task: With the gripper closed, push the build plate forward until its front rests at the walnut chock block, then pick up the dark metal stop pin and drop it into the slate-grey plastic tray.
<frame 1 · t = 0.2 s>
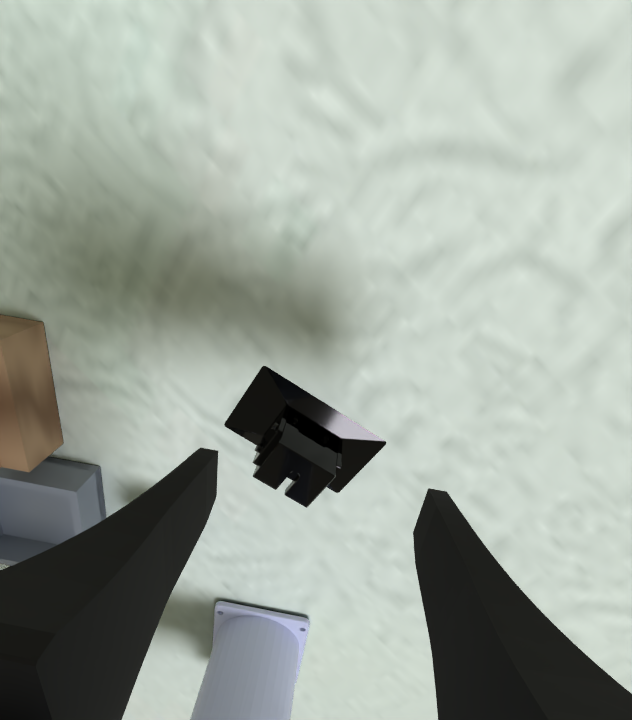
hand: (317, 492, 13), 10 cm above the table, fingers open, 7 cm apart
chock: (31, 383, 24), on the table
build plate: (304, 427, 25), on the table
tray: (48, 501, 29), on the table
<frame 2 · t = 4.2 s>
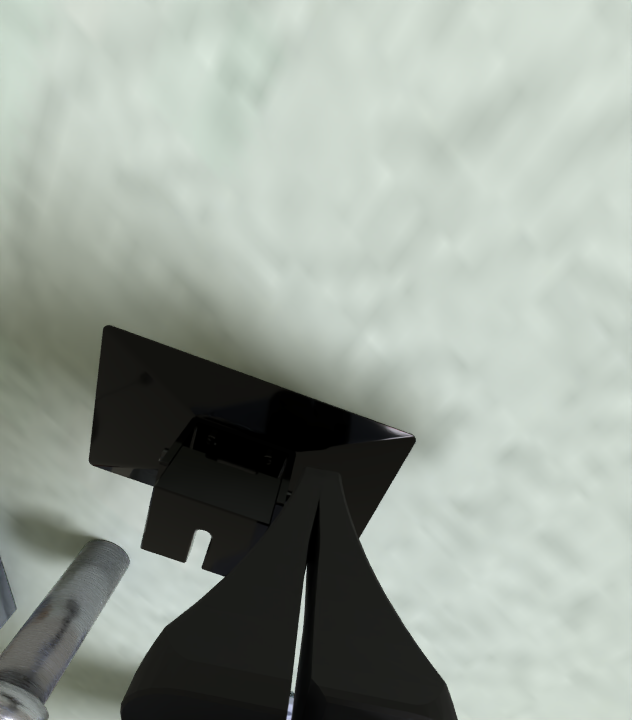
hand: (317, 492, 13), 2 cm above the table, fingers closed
build plate: (244, 444, 16), on the table, touching gripper
stop pin: (106, 557, 19), on the table
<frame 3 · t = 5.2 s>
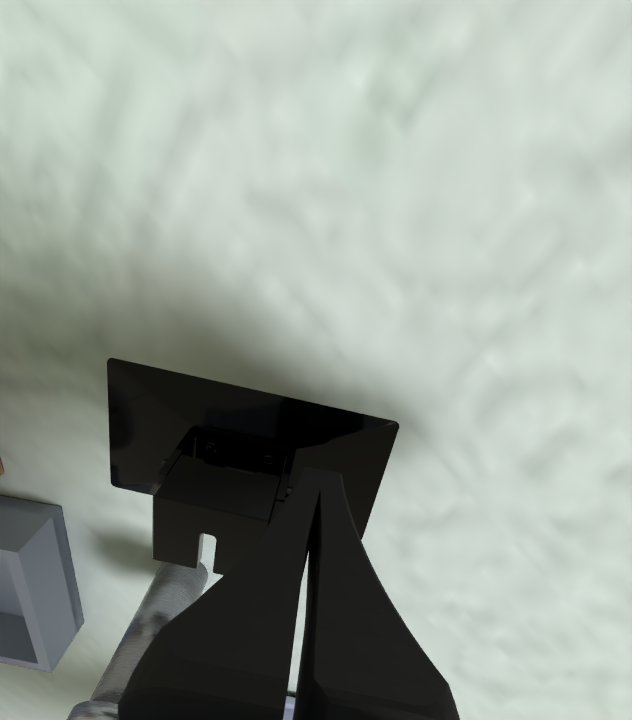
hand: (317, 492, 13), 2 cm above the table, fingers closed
build plate: (247, 448, 16), on the table
stop pin: (184, 571, 19), on the table
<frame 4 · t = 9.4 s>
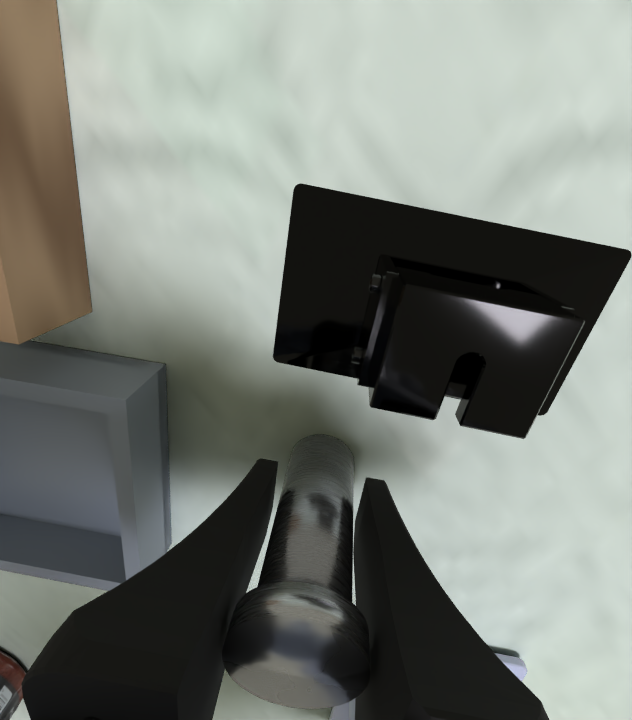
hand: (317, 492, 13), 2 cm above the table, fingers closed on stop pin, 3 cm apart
chock: (24, 154, 11), on the table
build plate: (429, 305, 12), on the table
stop pin: (322, 461, 14), on the table, touching gripper
tray: (60, 445, 15), on the table
when the fingers open (4 cm above the table, at t = 12.1 s): stop pin drops 1 cm, resting on tray.
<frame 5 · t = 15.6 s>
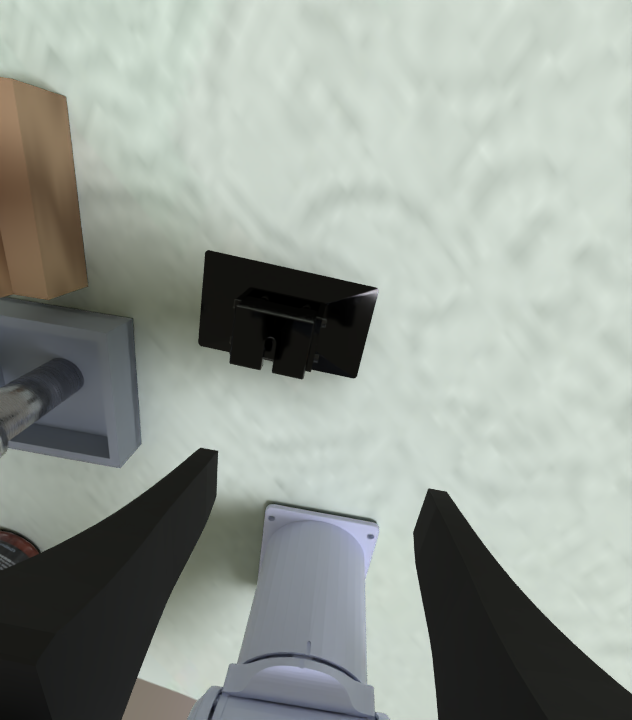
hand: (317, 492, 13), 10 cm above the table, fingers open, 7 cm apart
chock: (50, 196, 19), on the table
build plate: (287, 314, 21), on the table
stop pin: (64, 375, 23), point 1 cm above the table, touching tray
supplement bottle: (15, 550, 32), on the table
tray: (68, 374, 24), on the table
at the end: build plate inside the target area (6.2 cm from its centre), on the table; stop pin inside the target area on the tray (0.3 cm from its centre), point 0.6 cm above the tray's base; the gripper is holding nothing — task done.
